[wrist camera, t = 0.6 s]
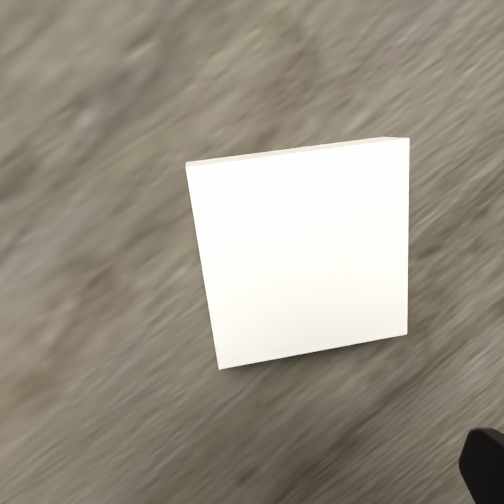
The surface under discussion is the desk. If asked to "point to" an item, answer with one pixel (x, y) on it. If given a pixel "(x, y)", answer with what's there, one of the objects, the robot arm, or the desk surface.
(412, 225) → the desk surface
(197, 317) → the desk surface
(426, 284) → the desk surface
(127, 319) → the desk surface
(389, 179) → the off-white block
